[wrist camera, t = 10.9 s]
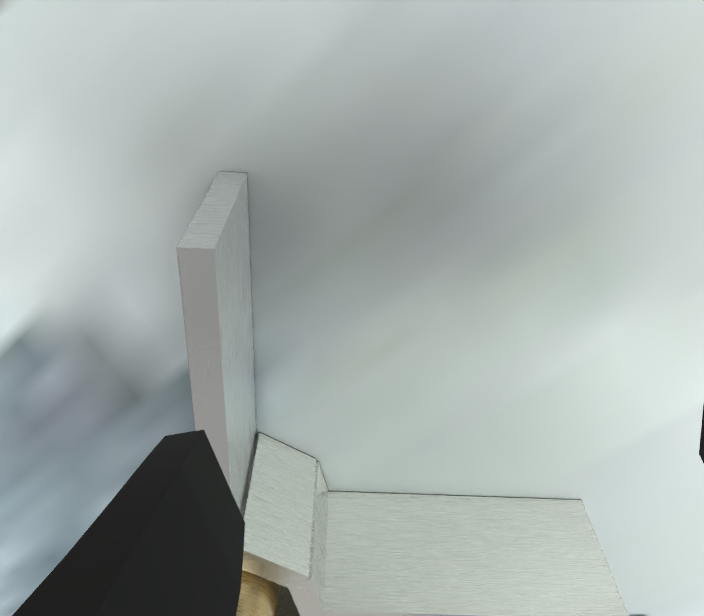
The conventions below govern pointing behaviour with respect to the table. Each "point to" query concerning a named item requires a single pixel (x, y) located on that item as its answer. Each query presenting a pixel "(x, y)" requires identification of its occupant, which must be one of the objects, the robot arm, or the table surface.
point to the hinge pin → (257, 596)
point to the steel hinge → (352, 507)
